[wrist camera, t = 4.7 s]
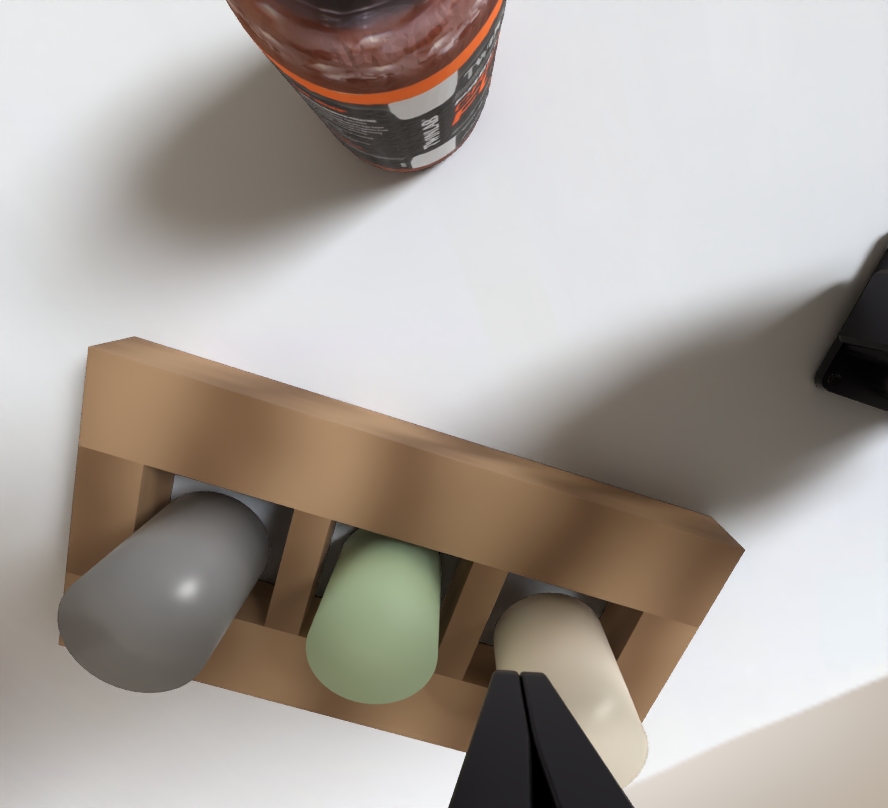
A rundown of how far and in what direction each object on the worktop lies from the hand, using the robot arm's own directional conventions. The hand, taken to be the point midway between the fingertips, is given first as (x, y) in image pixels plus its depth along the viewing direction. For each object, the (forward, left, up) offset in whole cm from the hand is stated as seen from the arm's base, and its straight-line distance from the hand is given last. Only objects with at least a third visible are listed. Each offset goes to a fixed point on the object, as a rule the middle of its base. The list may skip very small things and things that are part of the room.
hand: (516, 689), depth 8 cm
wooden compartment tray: (+2, +8, -13) cm, 15 cm away
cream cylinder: (-6, +8, -11) cm, 14 cm away
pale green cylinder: (+2, +8, -12) cm, 15 cm away
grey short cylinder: (+9, +8, -11) cm, 16 cm away
